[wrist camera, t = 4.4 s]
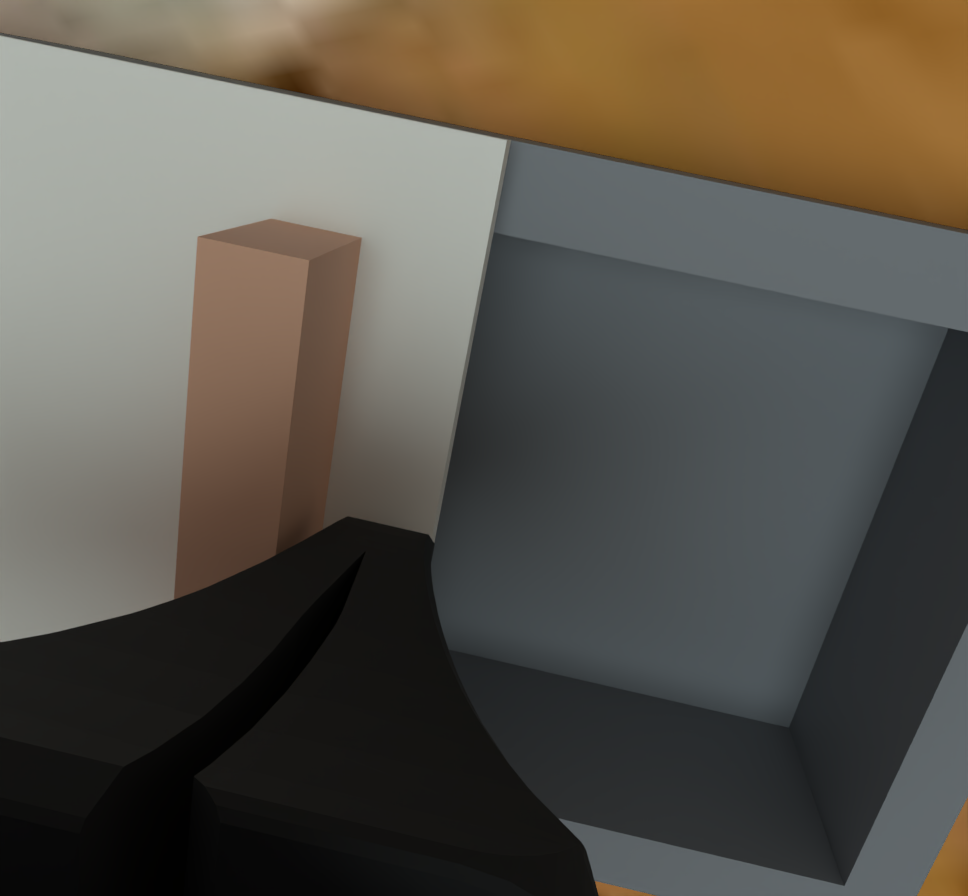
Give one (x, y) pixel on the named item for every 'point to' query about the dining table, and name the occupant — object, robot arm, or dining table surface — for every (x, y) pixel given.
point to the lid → (218, 326)
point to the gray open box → (714, 524)
